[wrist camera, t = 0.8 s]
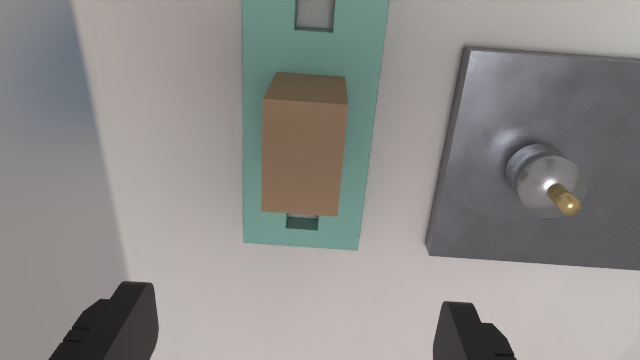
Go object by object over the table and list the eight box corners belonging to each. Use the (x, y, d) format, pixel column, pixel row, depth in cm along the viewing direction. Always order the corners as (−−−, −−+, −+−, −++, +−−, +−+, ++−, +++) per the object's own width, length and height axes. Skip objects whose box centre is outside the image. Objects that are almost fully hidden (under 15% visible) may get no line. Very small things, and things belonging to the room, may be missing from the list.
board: (247, -45, 25) (215, -49, 18) (389, -34, 25) (411, -34, 19) (247, 231, 33) (225, 299, 26) (356, 239, 33) (363, 309, 26)
